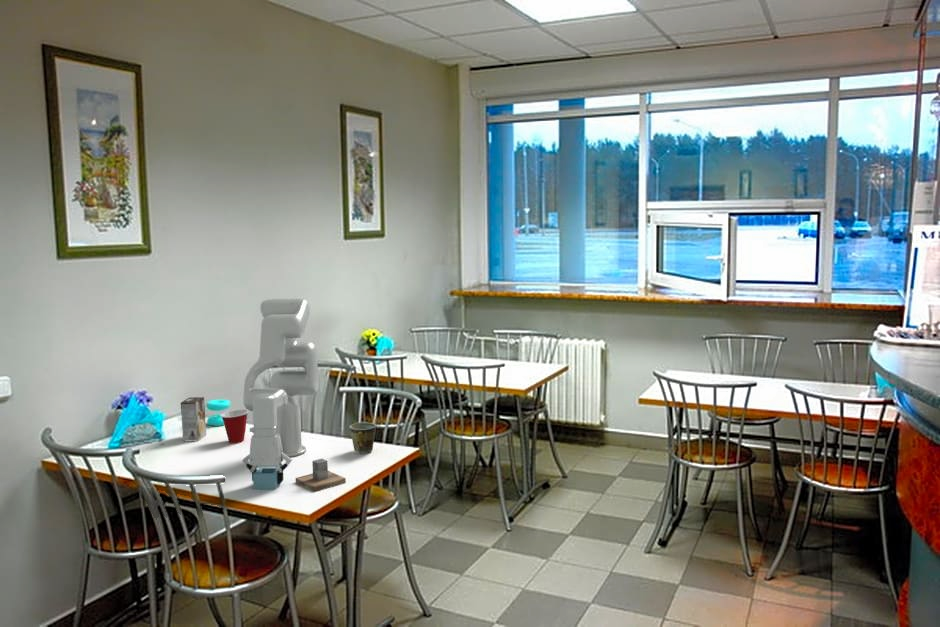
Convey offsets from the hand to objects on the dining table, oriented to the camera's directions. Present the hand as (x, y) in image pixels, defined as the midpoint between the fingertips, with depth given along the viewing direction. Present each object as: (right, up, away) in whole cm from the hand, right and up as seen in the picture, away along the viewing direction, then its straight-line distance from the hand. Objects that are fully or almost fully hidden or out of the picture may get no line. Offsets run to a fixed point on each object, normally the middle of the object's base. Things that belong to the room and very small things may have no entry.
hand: (267, 482), depth 250 cm
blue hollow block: (0, -1, 0) cm, 1 cm away
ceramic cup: (+27, +3, +34) cm, 44 cm away
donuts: (-42, +8, +77) cm, 88 cm away
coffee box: (-45, +5, +55) cm, 71 cm away
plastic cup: (-26, +5, +50) cm, 57 cm away
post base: (+17, 0, +2) cm, 17 cm away
